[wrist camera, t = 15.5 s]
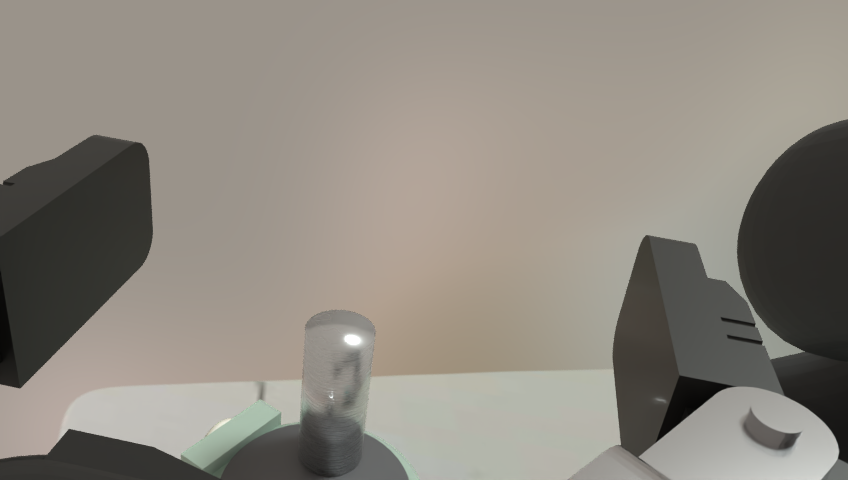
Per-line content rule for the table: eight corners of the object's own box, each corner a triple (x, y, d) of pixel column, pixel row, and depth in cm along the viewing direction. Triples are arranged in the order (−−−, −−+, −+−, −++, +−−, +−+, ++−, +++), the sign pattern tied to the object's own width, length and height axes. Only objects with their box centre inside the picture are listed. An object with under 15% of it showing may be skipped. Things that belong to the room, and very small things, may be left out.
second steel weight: (374, 451, 51) (389, 329, 46) (333, 487, 48) (345, 360, 43) (326, 421, 53) (336, 302, 48) (284, 455, 50) (290, 330, 45)
